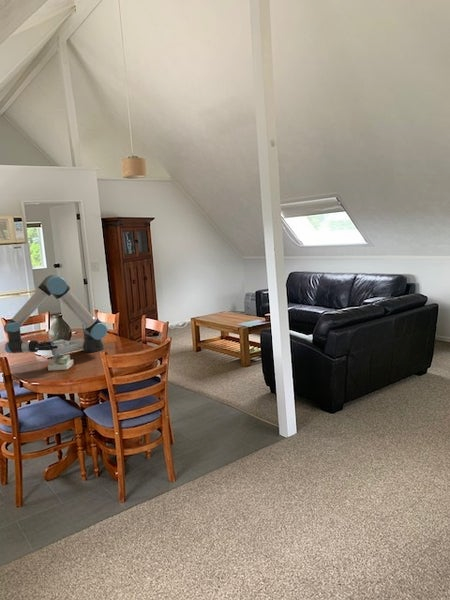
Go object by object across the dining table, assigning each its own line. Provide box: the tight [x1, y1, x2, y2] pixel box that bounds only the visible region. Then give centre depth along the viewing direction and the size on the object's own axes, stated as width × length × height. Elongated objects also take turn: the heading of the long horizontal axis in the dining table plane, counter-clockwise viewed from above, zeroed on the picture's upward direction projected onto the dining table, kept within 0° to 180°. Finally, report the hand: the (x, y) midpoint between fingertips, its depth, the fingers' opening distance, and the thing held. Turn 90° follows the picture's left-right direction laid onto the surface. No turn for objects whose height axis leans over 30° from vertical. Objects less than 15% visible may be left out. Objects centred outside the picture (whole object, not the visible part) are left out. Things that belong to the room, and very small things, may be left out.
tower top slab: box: [49, 354, 71, 365], centre depth 290 cm, size 10×10×4 cm
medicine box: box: [51, 339, 68, 357], centre depth 289 cm, size 8×4×9 cm, turn 141°
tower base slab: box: [47, 359, 75, 371], centre depth 291 cm, size 12×12×4 cm
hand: (65, 344), depth 288 cm, fingers closed on medicine box, 9 cm apart
